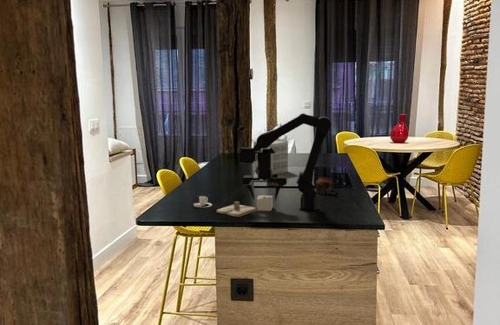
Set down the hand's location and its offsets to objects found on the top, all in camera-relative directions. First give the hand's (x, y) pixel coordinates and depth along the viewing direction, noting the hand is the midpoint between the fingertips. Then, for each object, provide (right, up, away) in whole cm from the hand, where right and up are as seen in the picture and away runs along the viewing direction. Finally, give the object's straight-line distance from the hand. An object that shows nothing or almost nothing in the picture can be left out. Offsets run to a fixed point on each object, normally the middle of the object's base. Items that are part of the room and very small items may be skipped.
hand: (264, 200), depth 197 cm
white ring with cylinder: (-30, -4, +9) cm, 32 cm away
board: (-12, -5, -3) cm, 13 cm away
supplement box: (+6, +10, +83) cm, 84 cm away
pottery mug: (+30, +1, +28) cm, 41 cm away
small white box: (0, -4, +1) cm, 4 cm away
